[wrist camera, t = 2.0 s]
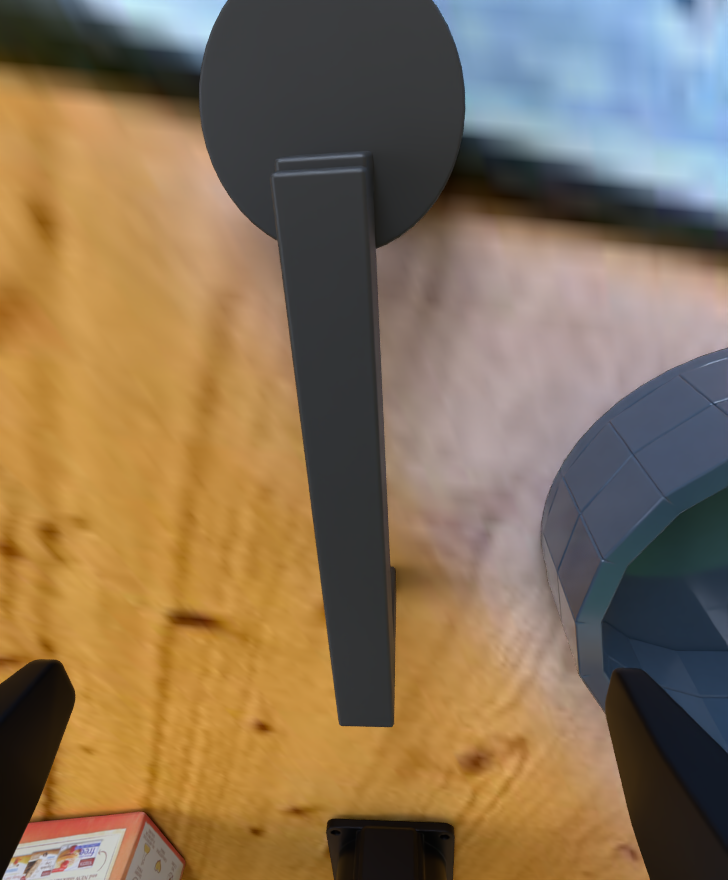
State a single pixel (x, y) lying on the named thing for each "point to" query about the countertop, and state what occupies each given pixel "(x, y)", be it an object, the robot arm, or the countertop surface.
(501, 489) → the countertop surface
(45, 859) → the cracker box
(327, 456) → the dark grey handle
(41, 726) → the robot arm
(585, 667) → the bowl
